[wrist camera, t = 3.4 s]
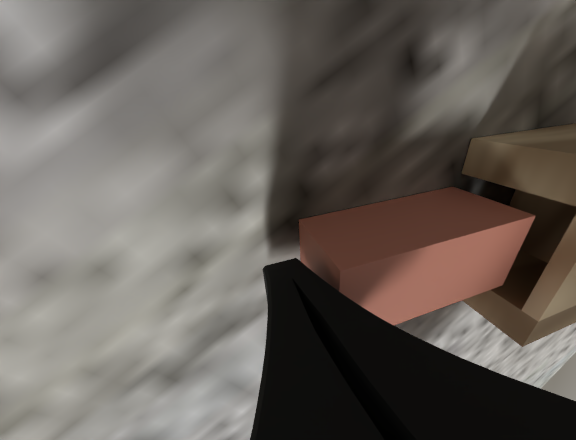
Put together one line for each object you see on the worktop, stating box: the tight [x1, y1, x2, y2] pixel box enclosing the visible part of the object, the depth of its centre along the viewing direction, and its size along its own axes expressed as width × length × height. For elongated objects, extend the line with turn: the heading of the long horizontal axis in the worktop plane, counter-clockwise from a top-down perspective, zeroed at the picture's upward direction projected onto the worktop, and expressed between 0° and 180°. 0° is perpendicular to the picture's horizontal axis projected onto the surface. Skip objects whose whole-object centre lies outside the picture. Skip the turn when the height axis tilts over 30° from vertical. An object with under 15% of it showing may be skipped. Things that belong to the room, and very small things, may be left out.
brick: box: [299, 187, 536, 325], centre depth 10 cm, size 3×8×3 cm, turn 94°
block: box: [462, 124, 576, 347], centre depth 11 cm, size 8×7×5 cm
